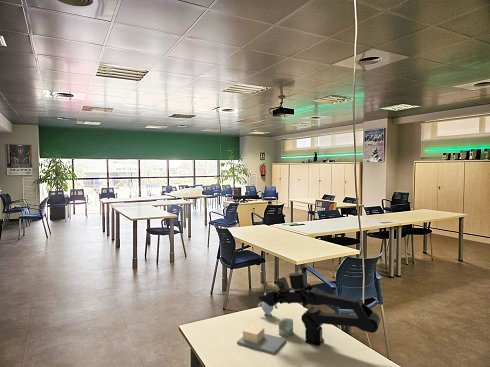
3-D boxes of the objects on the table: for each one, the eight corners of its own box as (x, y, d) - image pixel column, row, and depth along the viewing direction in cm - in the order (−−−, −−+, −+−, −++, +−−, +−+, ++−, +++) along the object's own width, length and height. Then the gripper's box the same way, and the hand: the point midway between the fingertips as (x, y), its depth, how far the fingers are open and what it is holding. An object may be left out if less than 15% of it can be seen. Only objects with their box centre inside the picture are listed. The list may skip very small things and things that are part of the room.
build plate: (286, 341, 149) (285, 330, 149) (274, 354, 138) (274, 342, 138) (250, 332, 158) (250, 321, 158) (237, 343, 148) (237, 332, 147)
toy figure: (278, 313, 177) (278, 291, 177) (276, 318, 171) (276, 295, 171) (259, 311, 180) (258, 289, 180) (256, 316, 174) (256, 294, 174)
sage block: (293, 332, 157) (293, 319, 157) (289, 336, 153) (288, 323, 153) (283, 329, 160) (283, 317, 160) (278, 334, 155) (278, 321, 155)
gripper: (299, 276, 162) (271, 277, 170) (282, 279, 147) (252, 280, 155) (302, 300, 160) (273, 300, 168) (285, 306, 144) (254, 306, 152)
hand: (263, 296), depth 161 cm, fingers open, 9 cm apart
